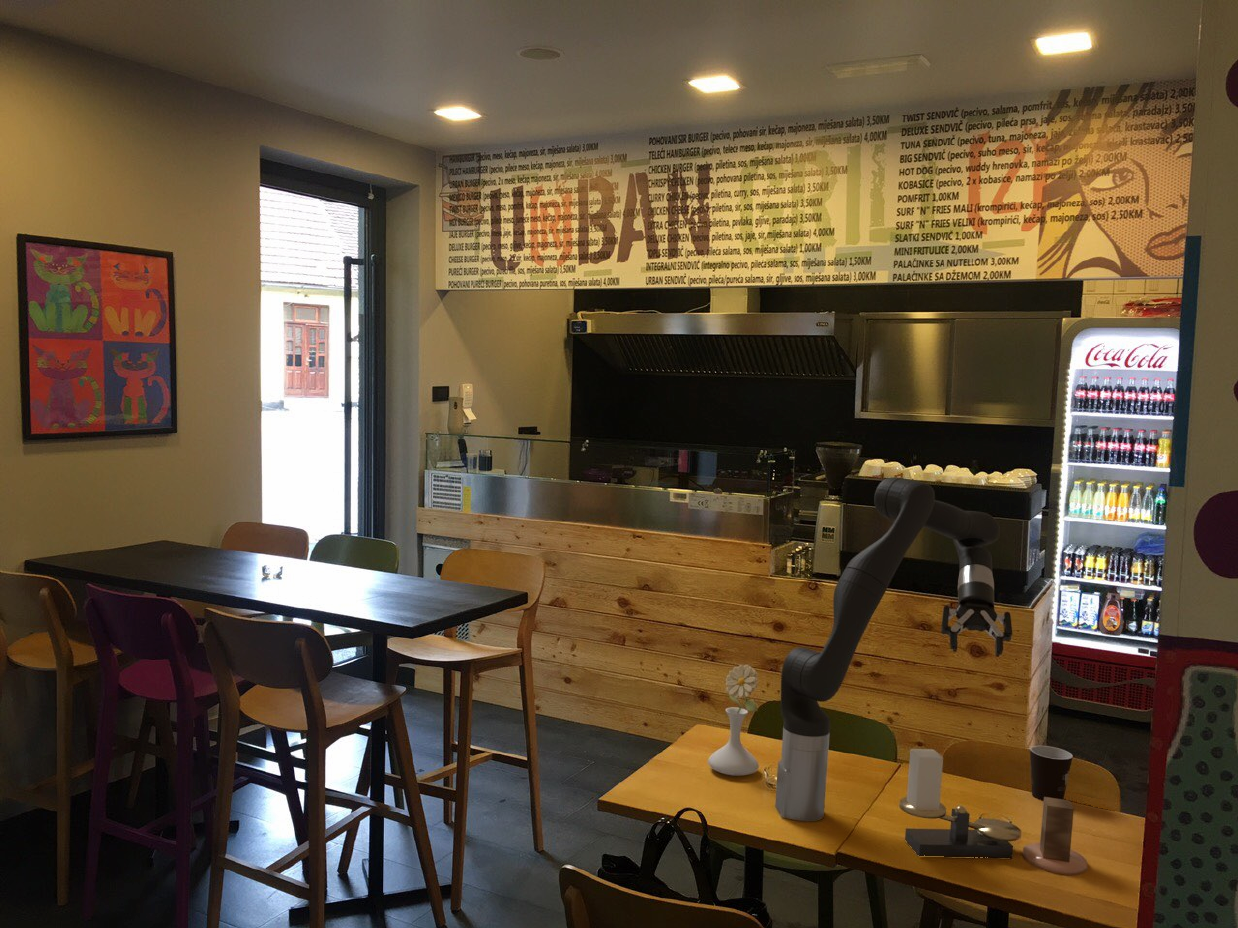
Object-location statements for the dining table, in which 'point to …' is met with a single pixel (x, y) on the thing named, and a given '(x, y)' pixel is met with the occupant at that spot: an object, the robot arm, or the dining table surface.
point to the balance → (960, 835)
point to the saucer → (1055, 861)
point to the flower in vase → (737, 725)
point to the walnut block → (1056, 829)
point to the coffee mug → (1049, 771)
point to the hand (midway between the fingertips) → (976, 652)
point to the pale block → (924, 779)
